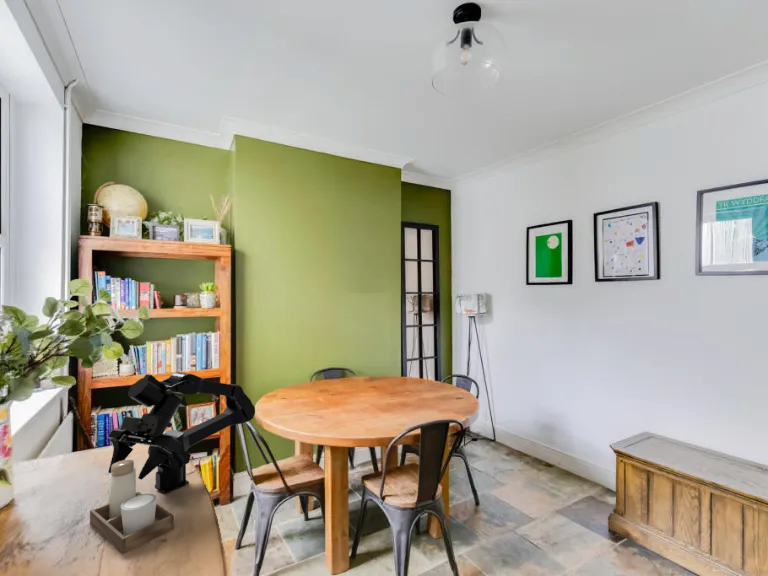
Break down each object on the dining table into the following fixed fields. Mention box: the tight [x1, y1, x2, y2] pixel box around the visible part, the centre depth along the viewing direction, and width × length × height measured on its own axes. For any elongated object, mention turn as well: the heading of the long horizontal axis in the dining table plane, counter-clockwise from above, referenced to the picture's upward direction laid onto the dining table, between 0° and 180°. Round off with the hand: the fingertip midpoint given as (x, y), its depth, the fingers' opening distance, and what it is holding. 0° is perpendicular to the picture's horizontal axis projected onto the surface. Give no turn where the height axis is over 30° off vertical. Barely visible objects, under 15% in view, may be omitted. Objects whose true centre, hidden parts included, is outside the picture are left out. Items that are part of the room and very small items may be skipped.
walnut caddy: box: [89, 491, 175, 555], centre depth 88 cm, size 10×18×3 cm, turn 54°
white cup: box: [121, 493, 158, 537], centre depth 85 cm, size 7×7×7 cm
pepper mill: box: [108, 459, 137, 520], centre depth 91 cm, size 5×5×13 cm
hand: (124, 476), depth 93 cm, fingers open, 9 cm apart
